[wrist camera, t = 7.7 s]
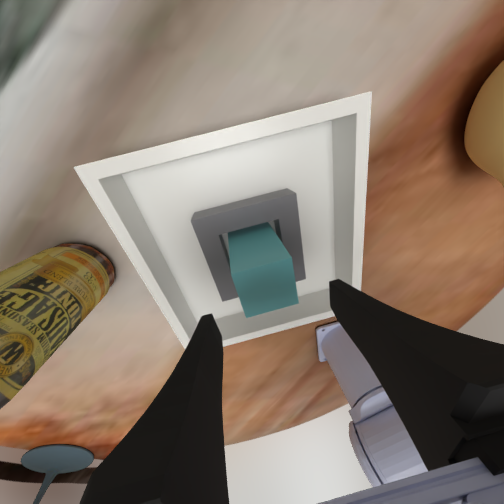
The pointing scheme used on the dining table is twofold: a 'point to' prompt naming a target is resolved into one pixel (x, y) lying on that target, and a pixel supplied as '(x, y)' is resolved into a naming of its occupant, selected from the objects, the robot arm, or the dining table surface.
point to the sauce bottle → (45, 307)
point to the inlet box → (243, 212)
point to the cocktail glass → (55, 462)
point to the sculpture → (488, 126)
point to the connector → (261, 270)
